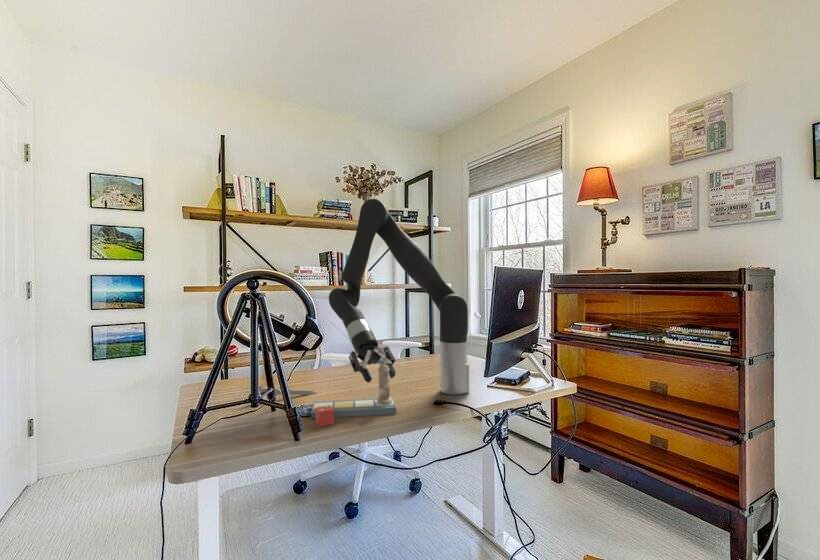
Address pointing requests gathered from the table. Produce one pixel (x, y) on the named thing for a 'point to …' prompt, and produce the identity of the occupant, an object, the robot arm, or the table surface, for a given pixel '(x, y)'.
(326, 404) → the board
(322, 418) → the die
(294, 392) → the caliper
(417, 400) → the table surface
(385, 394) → the pawn
